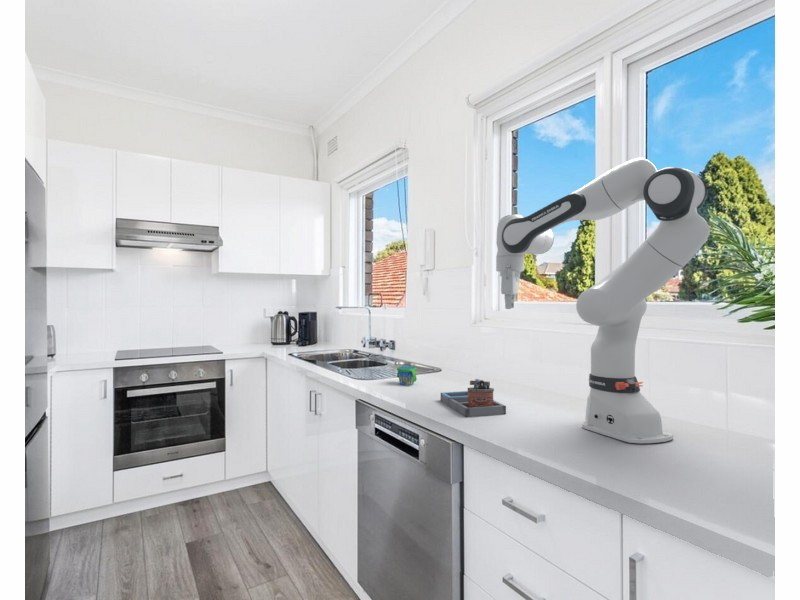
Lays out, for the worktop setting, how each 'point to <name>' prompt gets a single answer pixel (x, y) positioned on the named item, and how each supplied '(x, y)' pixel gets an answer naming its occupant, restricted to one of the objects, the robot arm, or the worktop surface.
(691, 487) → the worktop surface
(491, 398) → the lighter
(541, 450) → the worktop surface
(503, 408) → the divider tray
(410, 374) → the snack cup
